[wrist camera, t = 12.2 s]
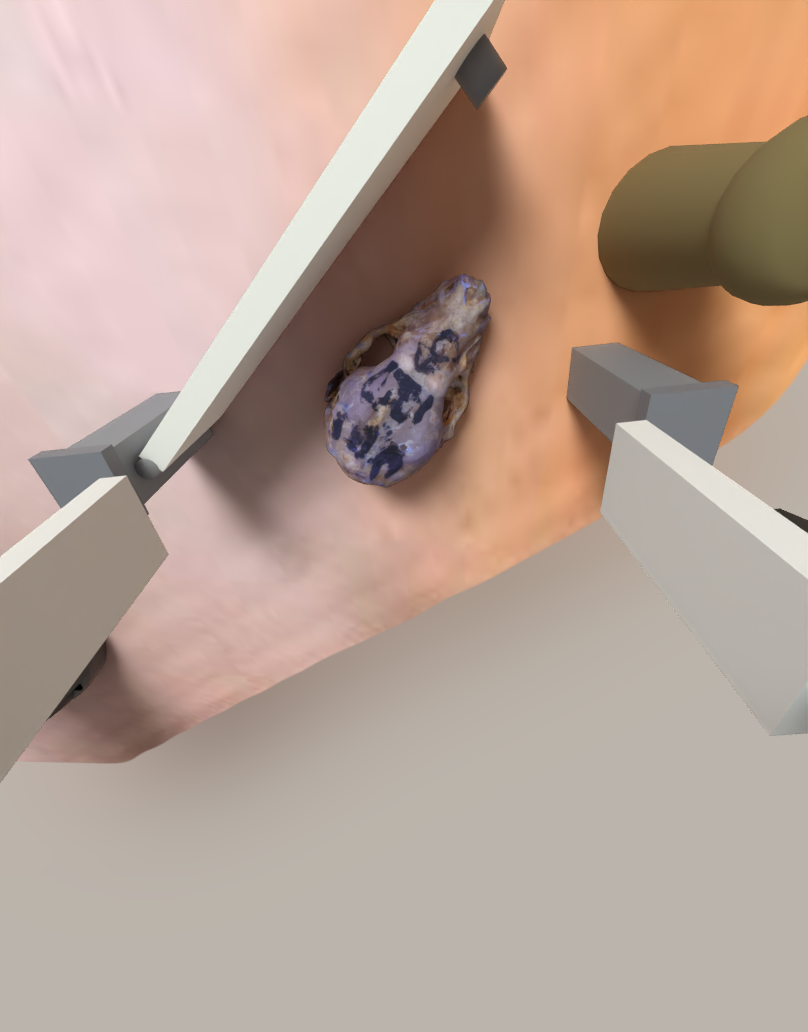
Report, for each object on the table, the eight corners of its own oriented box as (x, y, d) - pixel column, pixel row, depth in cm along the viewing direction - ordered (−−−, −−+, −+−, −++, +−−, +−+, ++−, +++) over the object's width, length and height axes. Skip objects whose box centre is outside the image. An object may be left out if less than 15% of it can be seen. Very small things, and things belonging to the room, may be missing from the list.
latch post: (561, 403, 26) (632, 478, 18) (567, 342, 24) (651, 395, 16) (613, 398, 26) (710, 470, 18) (624, 336, 24) (738, 385, 16)
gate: (231, 437, 27) (176, 499, 21) (198, 412, 26) (129, 469, 20) (497, 89, 18) (548, 3, 12) (460, 33, 17) (493, -94, 11)
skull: (440, 236, 21) (451, 235, 16) (532, 344, 24) (566, 372, 19) (305, 404, 26) (280, 444, 21) (395, 477, 29) (392, 527, 24)
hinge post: (172, 443, 28) (74, 529, 19) (148, 389, 26) (28, 459, 17) (219, 438, 27) (139, 523, 19) (198, 384, 25) (100, 451, 17)
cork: (603, 160, 20) (778, 88, 10) (739, 131, 19) (1051, 28, 10) (592, 301, 23) (718, 341, 14) (708, 281, 22) (920, 308, 13)
